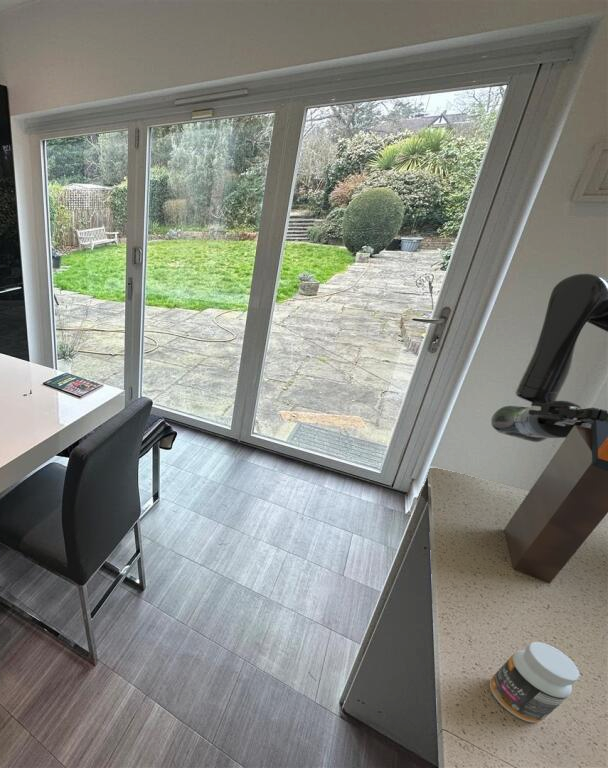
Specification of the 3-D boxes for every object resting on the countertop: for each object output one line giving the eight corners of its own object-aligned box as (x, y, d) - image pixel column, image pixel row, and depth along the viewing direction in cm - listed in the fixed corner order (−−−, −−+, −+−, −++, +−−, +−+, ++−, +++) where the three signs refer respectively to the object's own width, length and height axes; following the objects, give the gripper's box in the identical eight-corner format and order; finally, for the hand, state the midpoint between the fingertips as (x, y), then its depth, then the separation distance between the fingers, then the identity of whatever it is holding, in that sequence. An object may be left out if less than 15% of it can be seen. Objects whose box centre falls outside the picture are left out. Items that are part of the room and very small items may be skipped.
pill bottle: (478, 674, 60) (511, 633, 55) (521, 681, 59) (559, 640, 54) (507, 720, 55) (547, 680, 50) (554, 728, 54) (599, 688, 49)
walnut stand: (536, 540, 82) (615, 434, 70) (550, 583, 74) (643, 470, 62) (503, 529, 85) (574, 424, 73) (513, 569, 76) (595, 457, 64)
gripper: (516, 394, 90) (554, 383, 75) (604, 413, 83) (664, 406, 68) (505, 426, 90) (540, 422, 75) (590, 448, 83) (648, 448, 68)
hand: (599, 414), depth 72 cm, fingers closed
